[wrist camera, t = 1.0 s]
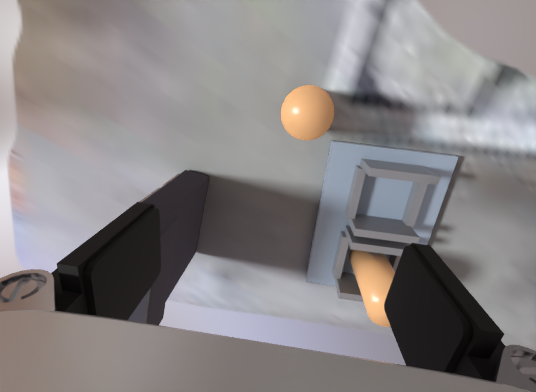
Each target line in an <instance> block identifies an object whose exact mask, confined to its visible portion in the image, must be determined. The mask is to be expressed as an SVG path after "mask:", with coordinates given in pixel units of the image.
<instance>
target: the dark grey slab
mask: <svg viewBox="0 0 536 392" xmlns="http://www.w3.org/2000/svg"><path fill="white" fill-rule="evenodd" d="M208 183H209V176H206V175H203V174H199V173H195V172H191V171H187V170H185V171H184V172H182V173H181V174H177V175H176V176H175V177H173V178H172V179H170V180H169V181H168V182H166V183H165V184H164V185H163V186H162V188H158V189H156V190H155V191H154V192H152V193H151V194H149V195H148V196H147V197H145V198H144V199H142V200H141V201H140V202H142V203H149V204H154V205H155V208H157V209H159V212H160V243H161V271H160V274H159V276H158V278H157V279H156V280H155V282H154V283H153V285H152V286H151V288H150V289H149V290H148V292H147V293H146V295H145V296H144V298H143V299H142V300H141V302H140V303H139V305H138V306H137V308H136V309H135V310H134V312H133V313H132V315H131V316H130V318H129V319H128V320H127V321H134V322H140V323H146V324H153V325H159V324H160V322H161V320H162V319H163V315H164V308H165V302H166V300H167V299H168V297H169V295H170V294H171V292H172V290H173V289H174V287H175V285H176V284H177V282H178V281H179V279H180V277H181V276H182V274H183V272H184V271H185V269H186V267H187V266H188V264H189V263H190V261H191V259H192V258H193V256H194V254H195V252H196V248H197V243H198V238H199V232H200V227H201V221H202V216H203V210H204V205H205V199H206V194H207V188H208Z"/></svg>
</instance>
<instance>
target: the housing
mask: <svg viewBox="0 0 536 392" xmlns="http://www.w3.org/2000/svg"><path fill="white" fill-rule="evenodd" d="M457 160H458V156H455V155H451V154H443V153H435V152H426V151H418V150H410V149H402V148H393V147H385V146H377V145H369V144H361V143H352V142H344V141H336V140H331V145H330V150H329V156H328V161H327V166H326V172H325V177H324V182H323V188H322V193H321V198H320V204H319V209H318V214H317V220H316V225H315V230H314V236H313V241H312V246H311V252H310V257H309V262H308V268H307V273H306V282H311V283H318V284H325V285H332V286H336V288H337V293H338V297H339V298H340V299H347V300H354V301H361V302H364V304H365V307H366V310H367V313H368V316H369V318H370V319H371V320H372V321H373V322H374V323H376V324H378V325H380V326H385V327H391V326H390V323H389V321H388V318H387V316H386V313H385V310H384V303H385V299H386V297H387V294H388V291H389V288H390V286H391V283H392V280H393V277H394V274H395V272H396V269H397V266H398V263H399V261H400V258H401V255H402V252H403V250H404V248H405V246H409V245H410V244H411V243H418V244H425V245H427V244H428V241H429V239H430V236H431V233H432V230H433V227H434V224H435V222H436V219H437V216H438V213H439V210H440V208H441V205H442V202H443V199H444V196H445V194H446V191H447V188H448V185H449V182H450V180H451V177H452V174H453V171H454V168H455V166H456V163H457Z"/></svg>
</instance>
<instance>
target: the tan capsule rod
mask: <svg viewBox="0 0 536 392" xmlns="http://www.w3.org/2000/svg"><path fill="white" fill-rule="evenodd" d="M281 119H282V123H283V125H284V128H285V129H286V130H287V132H288V133H289V134H290V135H292V136H293V137H295V138H297V139H300V140H313V139H316V138H318V137H320V136H322V135H323V134H324V133H326V132H327V130H328V129H329V128H330V126H331V124H332V122H333V119H334V104H333V101H332V99H331V97H330V96H329V94H328V93H327V92H326V91H324V90H323V89H322V88H320V87H317V86H313V85H304V86H301V87H298V88H296V89H294V90H293V91H292V92H290V93H289V94H288V96H287V97H286V98H285V100H284V102H283V105H282V109H281Z"/></svg>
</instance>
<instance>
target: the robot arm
mask: <svg viewBox="0 0 536 392" xmlns="http://www.w3.org/2000/svg"><path fill="white" fill-rule="evenodd" d="M57 267H58V268H57V269H56V270H55V271H53V272H52V273H49V272H48V271H45V270H33V269H31V270H25V271H19V272H16V273H12V274H10V275H7V276H5V277H2V278H0V392H536V351H534V350H532V349H529V348H526V347H523V346H520V345H509V346H505V345H504V344H503V343H502V341H501V339H502V337H503V335H504V333H503V332H502V331H501V330H500V328H499V327H498V326H497V325H496V324H495V322H494V321H493V320H492V319H491V318H490V317H489V315H488V314H487V313H486V312H485V311H484V309H483V308H482V307H481V306H480V305H479V303H478V302H477V301H476V300H475V299H474V297H473V296H472V295H471V294H470V293H469V292H468V290H467V289H466V288H465V287H464V286H463V284H462V283H461V282H460V281H459V280H458V278H457V277H456V276H455V275H454V274H453V272H452V271H451V270H450V269H449V268H448V266H447V265H446V264H445V263H444V262H443V261H442V259H441V258H440V257H439V256H438V255H437V253H436V252H435V251H434V250H433V249H432V247H431V246H429V245H425V244H418V243H411V244H410V245H409V246H405V248H404V250H403V252H402V255H401V258H400V261H399V263H398V266H397V269H396V272H395V274H394V277H393V280H392V283H391V286H390V288H389V291H388V294H387V297H386V299H385V303H384V310H385V313H386V316H387V318H388V321H389V323H390V326H391V328H392V331H393V333H394V336H395V338H396V341H397V343H398V346H399V348H400V351H401V353H402V356H403V358H404V360H405V363H406V366H404V365H399V364H393V363H387V362H381V361H374V360H368V359H362V358H357V357H351V356H344V355H338V354H332V353H326V352H320V351H314V350H307V349H301V348H295V347H289V346H283V345H277V344H271V343H265V342H259V341H252V340H246V339H240V338H234V337H228V336H221V335H215V334H209V333H203V332H197V331H191V330H185V329H178V328H171V327H165V326H159V325H153V324H146V323H140V322H134V321H127V320H128V319H129V318H130V316H131V315H132V313H133V312H134V310H135V309H136V308H137V306H138V305H139V303H140V302H141V300H142V299H143V298H144V296H145V295H146V293H147V292H148V290H149V289H150V288H151V286H152V285H153V283H154V282H155V280H156V279H157V278H158V276H159V274H160V271H161V243H160V212H159V209H157V208H155V205H154V204H149V203H142V202H137V203H136V204H134V205H133V206H132V207H130V208H129V209H128V210H126V211H125V212H124V213H123V214H121V215H120V216H119V217H117V218H116V219H115V220H113V221H112V222H111V223H109V224H108V225H107V226H105V227H104V228H103V229H102V230H100V231H99V232H98V233H96V234H95V235H94V236H92V237H91V238H90V239H88V240H87V241H86V242H85V243H83V244H82V245H81V246H79V247H78V248H77V249H75V250H74V251H73V252H71V253H70V254H69V255H67V256H66V257H65V258H64V259H62V260H61V261H60V262H58V263H57Z"/></svg>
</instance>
